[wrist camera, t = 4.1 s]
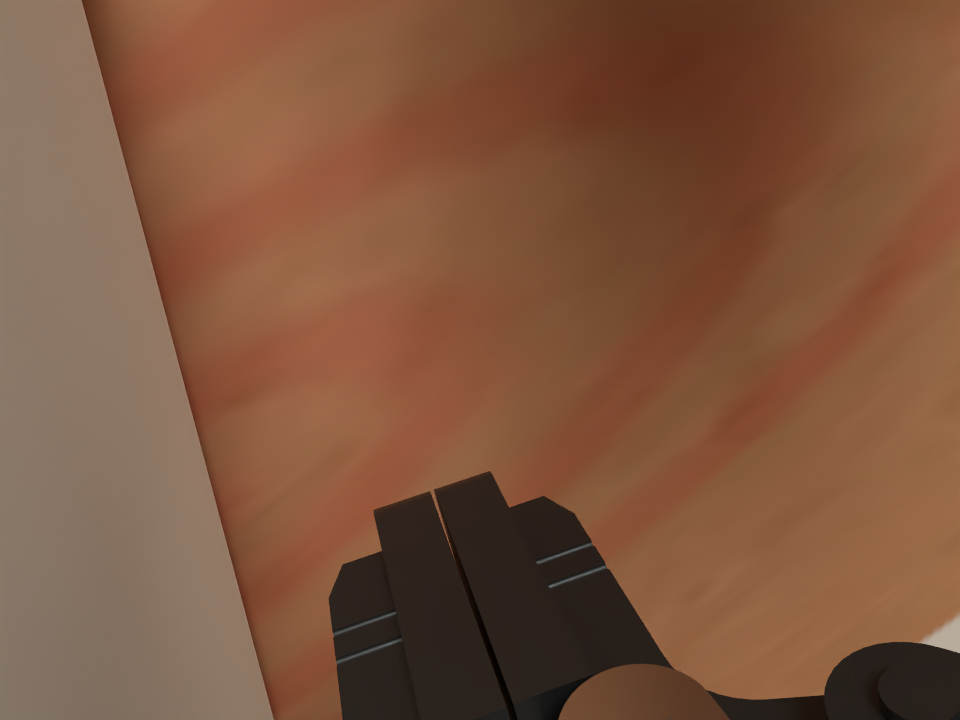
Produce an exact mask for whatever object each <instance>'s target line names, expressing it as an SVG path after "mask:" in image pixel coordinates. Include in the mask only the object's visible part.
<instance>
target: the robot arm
mask: <svg viewBox="0 0 960 720" xmlns="http://www.w3.org/2000/svg"><path fill="white" fill-rule="evenodd" d="M434 491H435V495H436V499H437V502H438V506H439V509H440V512H441V516H442V519H443V522H444V526H445V529H446V532H447V536H448V539H449V542H450V546H451V549H452V552H453V555H452V552H451V549H450V546H449V543H448V541H447V538H446V535H445V532H444V529H443V527H442V524H441V521H440V518H439V515H438V513H437V510H436V507H435V504H434V501H433V498H432V496H431V493H430V491H429V492H426V493H423V494H420V495H417V496H414V497H411V498H408V499H405V500H402V501H399V502H396V503H393V504H390V505H387V506H384V507H381V508H378V509H375V510H374V517H375V521H376V525H377V530H378V534H379V539H380V543H381V547H382V551H381V552H378V553H375V554H372V555H369V556H366V557H363V558H360V559H357V560H355V561H352V562H349V563H346V564H343V565H342V567H341V570H340V572H339V575H338V577H337V579H336V582H335V584H334V587H333V589H332V592H331V594H330V596H329V605H330V613H331V622H332V631H333V634H334V638H333V639H334V648H335V656H336V661H337V665H338V666H337V673H338V682H339V691H340V699H341V708H342V716H343V720H960V653H957V652H953V651H950V650H946V649H943V648H939V647H935V646H931V645H926V644H920V643H911V642H890V643H882V644H876V645H872V646H869V647H865V648H863V649H860V650H858V651H856V652H854V653H852V654H850V655H849V656H847V657H846V658H844V659H843V660H842V661H841V662H840V663H839V664H838V665H837V666H836V667H835V668H834V669H833V671H832V673H831V674H830V676H829V677H828V680H827V683H826V687H825V694H824V695H821V696H808V697H794V698H781V699H767V700H748V699H739V698H732V697H728V696H723V695H719V694H716V693H713V692H711V691H708V690H705V688H704V687H703V686H702V685H700V684H699V683H698V682H696V681H695V680H694V679H692V678H691V677H689V676H687V675H685V674H684V673H682V672H680V671H677V670H675V669H674V668H673V667H672V666H671V665H670V664H669V662H668V661H667V660H666V658H665V657H664V655H663V654H662V652H661V651H660V649H659V648H658V646H657V644H656V643H655V641H654V640H653V638H652V636H651V635H650V633H649V632H648V630H647V628H646V627H645V625H644V624H643V622H642V620H641V619H640V617H639V616H638V614H637V613H636V611H635V609H634V608H633V606H632V605H631V603H630V601H629V600H628V598H627V597H626V595H625V593H624V592H623V590H622V589H621V587H620V586H619V584H618V582H617V581H616V579H615V578H614V576H613V574H612V573H611V571H610V570H609V569H607V567H606V564H605V562H604V560H603V558H602V557H601V555H600V554H599V552H598V551H597V549H596V547H595V546H593V545H592V542H591V539H590V538H589V536H588V535H587V533H586V531H585V530H584V528H583V527H582V525H581V524H580V522H579V520H578V519H577V517H576V516H575V514H574V513H572V512H571V511H569V510H567V509H565V508H564V507H562V506H560V505H558V504H557V503H555V502H553V501H552V500H550V499H548V498H546V497H545V496H542V497H539V498H536V499H533V500H530V501H528V502H525V503H522V504H519V505H516V506H513V507H510V508H509V507H508V505H507V503H506V501H505V499H504V497H503V495H502V493H501V491H500V489H499V487H498V485H497V483H496V481H495V479H494V477H493V475H492V473H491V472H490V471H489V472H486V473H483V474H480V475H477V476H474V477H471V478H468V479H465V480H462V481H459V482H456V483H453V484H450V485H447V486H444V487H441V488H438V489H435V490H434ZM453 556H454V558H453ZM454 559H455V560H454ZM455 562H456V563H455Z"/></svg>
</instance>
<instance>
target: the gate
mask: <svg viewBox="0 0 960 720" xmlns="http://www.w3.org/2000/svg"><path fill="white" fill-rule="evenodd" d="M0 720H274V718H273V715H272V711H271V707H270V703H269V700H268V696H267V692H266V689H265V685H264V681H263V677H262V674H261V670H260V666H259V662H258V659H257V655H256V651H255V647H254V644H253V640H252V636H251V632H250V629H249V625H248V621H247V617H246V614H245V610H244V606H243V602H242V599H241V595H240V591H239V587H238V584H237V580H236V576H235V572H234V569H233V565H232V561H231V558H230V554H229V550H228V546H227V543H226V539H225V535H224V531H223V528H222V524H221V520H220V516H219V513H218V509H217V505H216V501H215V498H214V494H213V490H212V486H211V483H210V479H209V475H208V471H207V468H206V464H205V460H204V456H203V453H202V449H201V445H200V441H199V438H198V434H197V430H196V427H195V423H194V419H193V415H192V412H191V408H190V404H189V400H188V397H187V393H186V389H185V385H184V382H183V378H182V374H181V370H180V367H179V363H178V359H177V355H176V352H175V348H174V344H173V340H172V337H171V333H170V329H169V325H168V322H167V318H166V314H165V310H164V307H163V303H162V299H161V296H160V292H159V288H158V284H157V281H156V277H155V273H154V269H153V266H152V262H151V258H150V254H149V251H148V247H147V243H146V239H145V236H144V232H143V228H142V224H141V221H140V217H139V213H138V209H137V206H136V202H135V198H134V194H133V191H132V187H131V183H130V179H129V176H128V172H127V168H126V165H125V161H124V157H123V153H122V150H121V146H120V142H119V138H118V135H117V131H116V127H115V123H114V120H113V116H112V112H111V108H110V105H109V101H108V97H107V93H106V90H105V86H104V82H103V78H102V75H101V71H100V67H99V63H98V60H97V56H96V52H95V48H94V45H93V41H92V37H91V34H90V30H89V26H88V22H87V19H86V15H85V11H84V7H83V4H82V0H0Z"/></svg>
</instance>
